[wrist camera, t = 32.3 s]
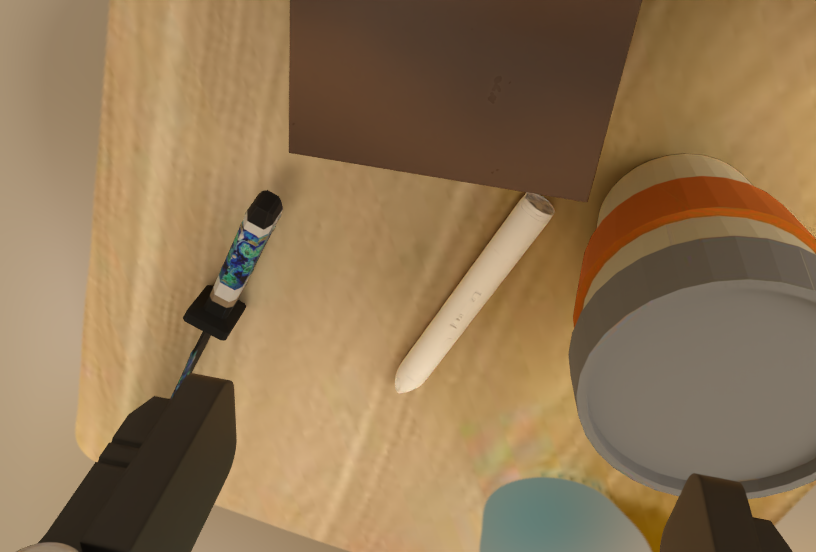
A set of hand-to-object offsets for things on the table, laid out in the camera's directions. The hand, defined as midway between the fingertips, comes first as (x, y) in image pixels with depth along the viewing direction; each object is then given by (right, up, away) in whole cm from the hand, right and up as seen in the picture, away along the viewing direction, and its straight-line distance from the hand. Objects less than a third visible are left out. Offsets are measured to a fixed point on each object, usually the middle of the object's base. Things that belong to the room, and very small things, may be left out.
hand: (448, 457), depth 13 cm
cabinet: (+3, +18, +24) cm, 30 cm away
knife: (-15, 0, +40) cm, 43 cm away
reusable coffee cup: (+15, +6, +30) cm, 34 cm away
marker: (+3, +2, +35) cm, 35 cm away
